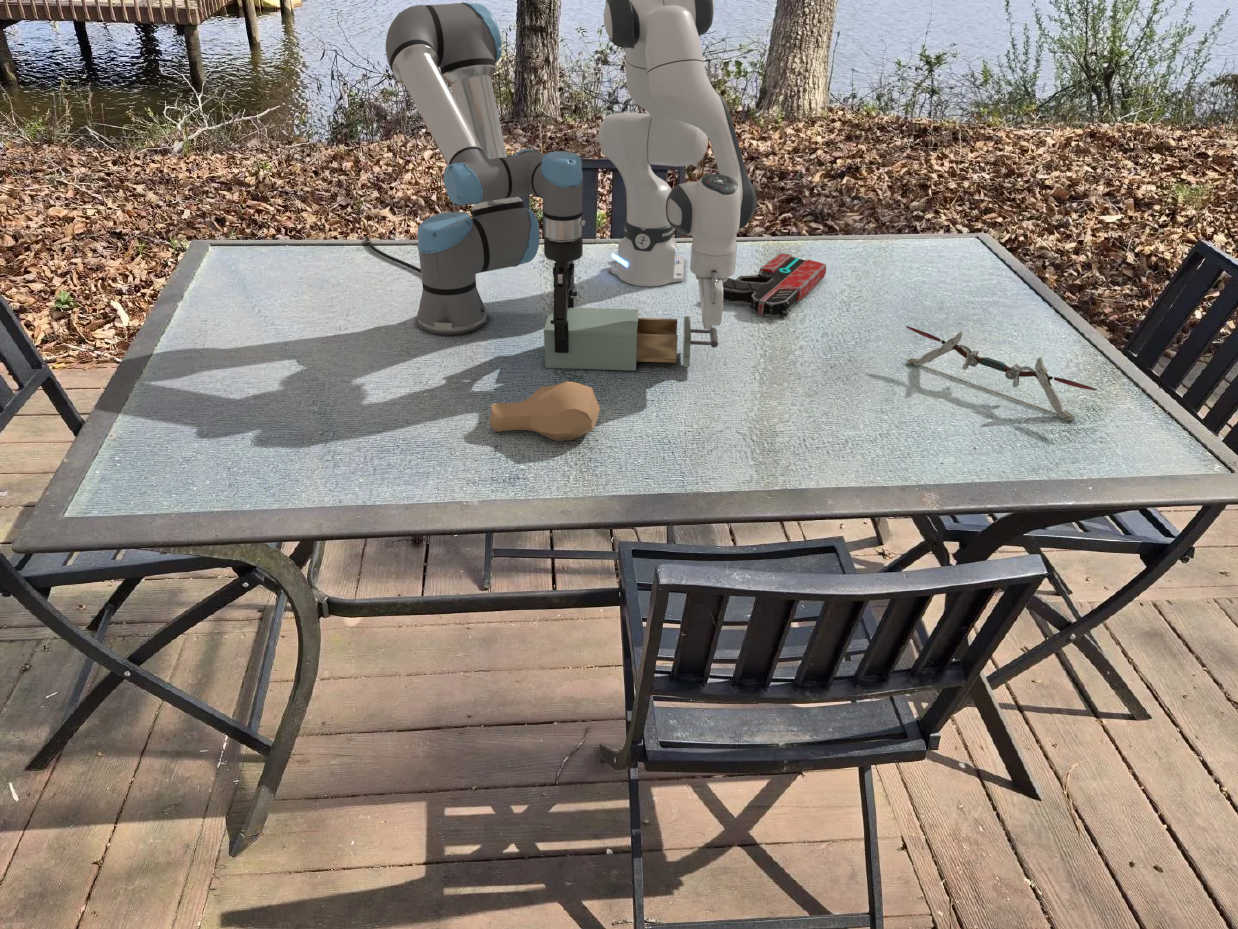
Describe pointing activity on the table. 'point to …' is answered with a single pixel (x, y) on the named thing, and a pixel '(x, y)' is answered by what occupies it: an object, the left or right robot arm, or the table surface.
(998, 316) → the table surface
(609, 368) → the grey box
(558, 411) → the squash
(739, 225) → the right robot arm
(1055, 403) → the bow
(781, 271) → the gun
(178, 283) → the table surface
